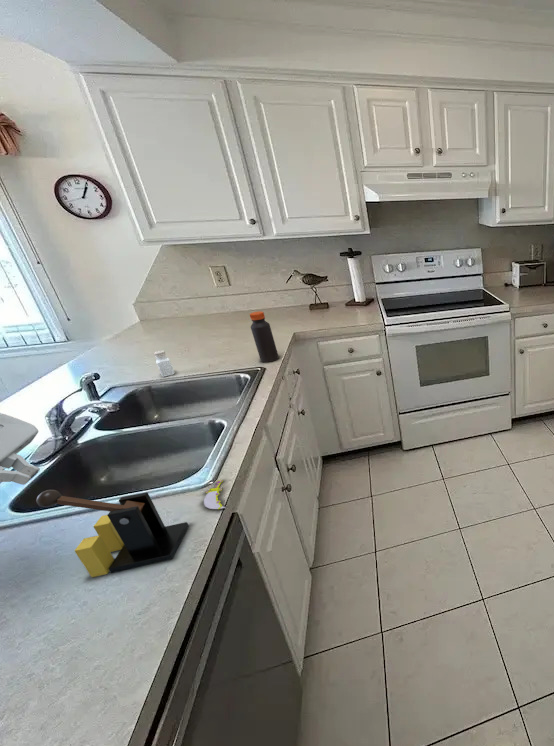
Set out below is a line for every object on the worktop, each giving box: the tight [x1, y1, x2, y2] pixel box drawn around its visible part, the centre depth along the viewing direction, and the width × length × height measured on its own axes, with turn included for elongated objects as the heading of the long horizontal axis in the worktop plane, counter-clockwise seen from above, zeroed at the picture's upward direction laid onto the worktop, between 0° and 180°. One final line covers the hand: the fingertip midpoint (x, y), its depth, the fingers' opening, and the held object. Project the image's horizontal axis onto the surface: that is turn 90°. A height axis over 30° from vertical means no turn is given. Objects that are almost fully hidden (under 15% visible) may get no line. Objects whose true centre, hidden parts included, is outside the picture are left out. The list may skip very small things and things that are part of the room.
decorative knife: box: [203, 479, 227, 510], centre depth 96 cm, size 12×1×5 cm
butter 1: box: [92, 514, 124, 553], centre depth 82 cm, size 2×3×7 cm
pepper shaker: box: [153, 350, 176, 378], centre depth 158 cm, size 4×4×10 cm
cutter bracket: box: [106, 491, 190, 574], centre depth 80 cm, size 10×9×12 cm
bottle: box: [249, 310, 280, 363], centre depth 167 cm, size 7×7×20 cm
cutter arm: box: [35, 489, 145, 513], centre depth 76 cm, size 15×3×3 cm, turn 109°
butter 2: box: [74, 534, 115, 578], centre depth 77 cm, size 2×3×7 cm
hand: (33, 476), depth 72 cm, fingers closed
